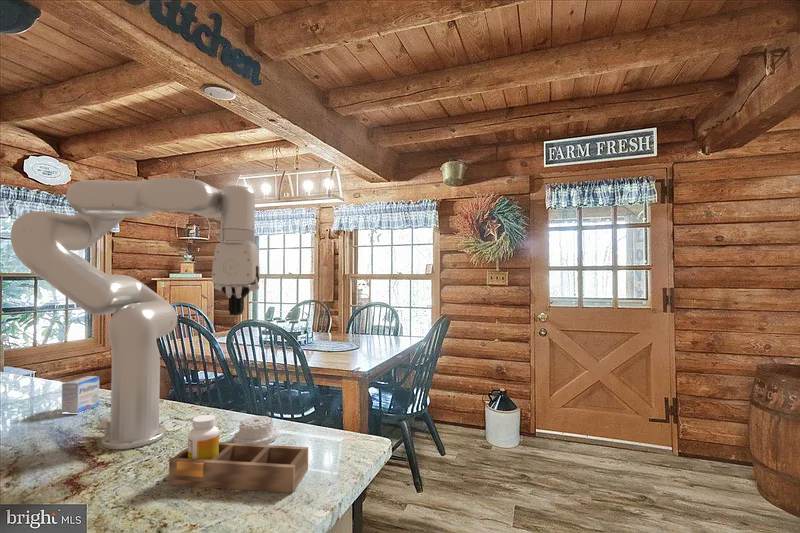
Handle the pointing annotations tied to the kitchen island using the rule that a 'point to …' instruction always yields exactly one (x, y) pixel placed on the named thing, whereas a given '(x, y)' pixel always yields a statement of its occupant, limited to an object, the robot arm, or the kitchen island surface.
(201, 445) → the supplement bottle
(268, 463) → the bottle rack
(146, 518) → the kitchen island surface
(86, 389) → the medicine box
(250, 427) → the mechanical component
